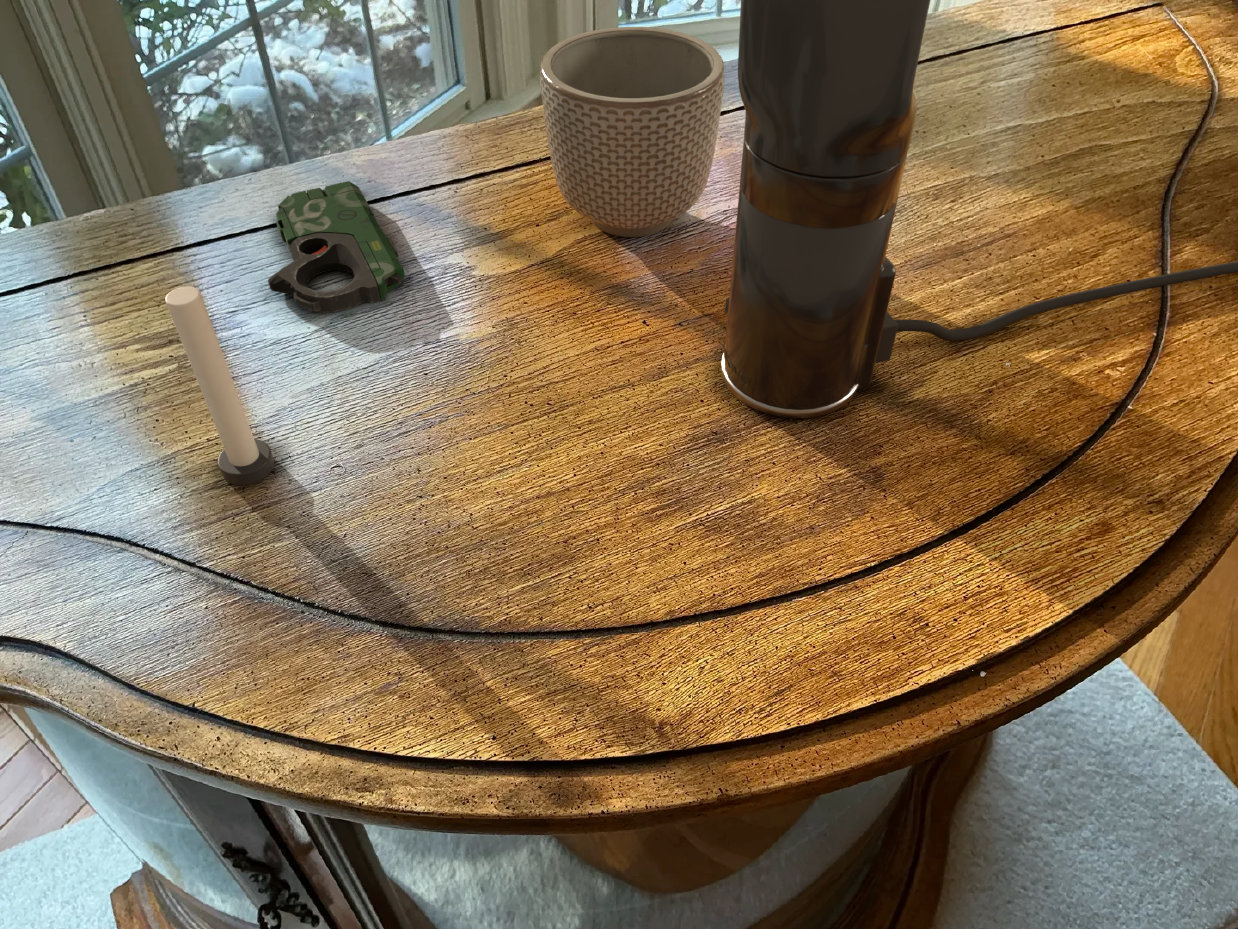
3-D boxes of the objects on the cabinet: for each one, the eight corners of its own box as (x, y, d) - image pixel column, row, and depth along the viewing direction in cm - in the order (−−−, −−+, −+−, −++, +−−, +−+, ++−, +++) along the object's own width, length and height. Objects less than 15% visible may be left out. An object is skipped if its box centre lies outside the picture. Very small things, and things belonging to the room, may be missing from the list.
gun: (239, 203, 81) (358, 177, 84) (244, 219, 82) (361, 192, 85) (278, 310, 71) (413, 275, 74) (283, 326, 72) (416, 291, 75)
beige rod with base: (273, 445, 63) (213, 273, 54) (276, 479, 61) (214, 306, 52) (221, 455, 62) (151, 284, 53) (222, 490, 60) (150, 318, 51)
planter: (577, 165, 89) (571, 17, 79) (729, 186, 86) (741, 35, 77) (525, 247, 79) (512, 90, 70) (694, 273, 76) (704, 113, 67)
